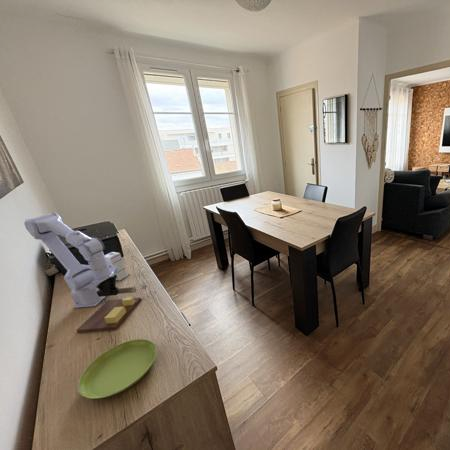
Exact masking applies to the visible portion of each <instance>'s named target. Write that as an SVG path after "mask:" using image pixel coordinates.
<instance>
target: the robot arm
mask: <svg viewBox="0 0 450 450" xmlns="http://www.w3.org/2000/svg"><path fill="white" fill-rule="evenodd" d="M24 228H25V229H26V231H27V232H28V233H29V234H30V235H31V237H33V238H34V240H40V241H42V244H44V245H45V246H46V247H47V249H48V250H49V251H50V252H51V253H52V254H53V255H54V257H55V258H56V259H57V260H58V261H59V263H60V264H61V265H62V266H63V268H64V269H65V270H66V273H65V274H64V276H63V280H64V281H65V283H66V285H67V288H69V289H70V290H71V292H70V296H71V299H72V300H73V302H74V304H75V306H74V308H75V309H77V308H88V307H96V306H98V305H99V304H100V303H101V302H102V301H103V300H104V299H105V298H107V297H108V296H107V295H111V289H110V288H117V287H116V283H117V280H116V278H117V275H116V274H115V275H114V274H113V273H114V272H115V271H118V268H117V267H112V268H109V265H108V263H107V261H106V258H105V254H104V250H105V244H104V242H103V240H101V239H100V238H98V237H90V236H88V235H87V234H85V233H83V232H82V231H79V230H74V229H72V228H70V227H69V226H68V225H67V224H65V223H64V221H63V219H62V217H61V216H60V215H59V214H58V213H56V212H53V211H52V212H50V213H46V214H43V215H39V216H36V217H32V218H26V219H25V220H24ZM58 235H59V236H61V237H63V238H65V241H66V243H68V244H70V245H71V246H73V247H75V248H76V249H78V252H79V253H80V255H82V257H83V259H84V260H85V261H87V263H88V264H81V263H80V262H79V261H78V259H77V258H76V257H75V256H74V255H73V253H72V252H71V251H70V249H69V248H68V247H67V246H66V245H65V244H64V242H63V241H62V240H61V239H60V237H59V236H58ZM99 289H100V290H101V291H102V292H103V293H104V294H105V295H106V296H101V297H98V294H97V291H98V290H99Z"/></svg>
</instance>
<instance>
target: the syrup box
mask: <svg viewBox="0 0 450 450" xmlns="http://www.w3.org/2000/svg"><path fill="white" fill-rule="evenodd" d="M104 256H105V258H106V261H107V263H108V265H109V268H112V267H117V268H118V271H115V272H114V273H113V274H114V275H115V274H116V275H117V278H116V281H121V280H124V279H125V278H127V277H128V276H129V272H128V270H127V268H126V265H125V262H124V261H123V258H122V255H121V253H120V252H116V251H110V252H108V253H106V254H104Z"/></svg>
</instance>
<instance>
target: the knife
mask: <svg viewBox="0 0 450 450" xmlns="http://www.w3.org/2000/svg"><path fill="white" fill-rule="evenodd" d="M110 289H111V295H107V296H106V295H105V294H104V293H103V292H102V291H101V290H100V289H99V290H98V291H97V294H98V297H101V296H106V297H112V296H118V295H119V294H121V295H122V294H131V293H132V294H133V293H137V289H136V287H135V286H131V287H130V286H129V287H116V288H110Z"/></svg>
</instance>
